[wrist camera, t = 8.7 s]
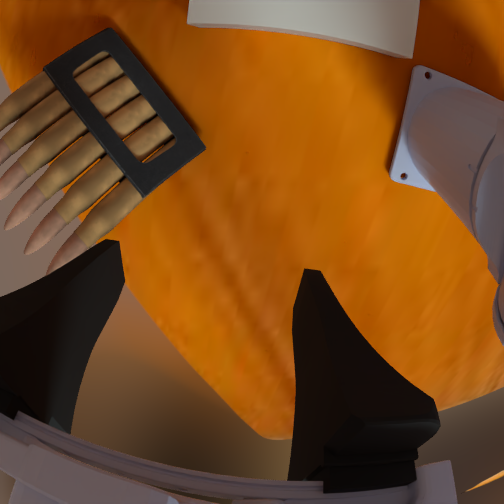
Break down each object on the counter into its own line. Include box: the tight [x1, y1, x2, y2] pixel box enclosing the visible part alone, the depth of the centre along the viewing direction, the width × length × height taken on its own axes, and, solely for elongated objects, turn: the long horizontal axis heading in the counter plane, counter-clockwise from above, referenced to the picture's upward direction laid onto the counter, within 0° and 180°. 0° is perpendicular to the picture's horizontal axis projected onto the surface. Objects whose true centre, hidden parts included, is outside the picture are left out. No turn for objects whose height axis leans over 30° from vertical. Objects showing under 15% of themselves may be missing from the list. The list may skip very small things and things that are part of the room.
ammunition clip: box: [0, 28, 206, 275], centre depth 15 cm, size 11×2×12 cm
